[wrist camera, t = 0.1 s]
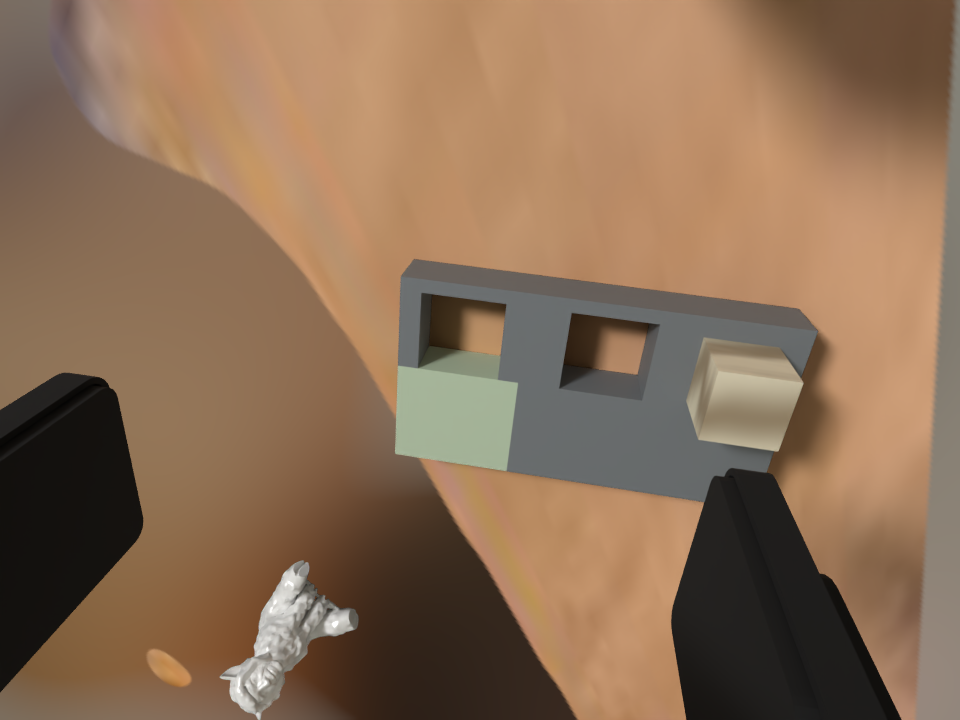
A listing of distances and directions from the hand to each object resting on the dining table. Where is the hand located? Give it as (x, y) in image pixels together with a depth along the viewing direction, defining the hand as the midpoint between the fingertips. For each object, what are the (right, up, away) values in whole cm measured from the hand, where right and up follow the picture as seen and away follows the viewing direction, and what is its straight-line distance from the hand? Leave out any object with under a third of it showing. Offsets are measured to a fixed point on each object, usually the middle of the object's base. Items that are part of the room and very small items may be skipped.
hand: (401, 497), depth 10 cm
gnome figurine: (-17, -23, +56) cm, 63 cm away
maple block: (+19, +1, +33) cm, 38 cm away
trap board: (+9, +1, +39) cm, 40 cm away
